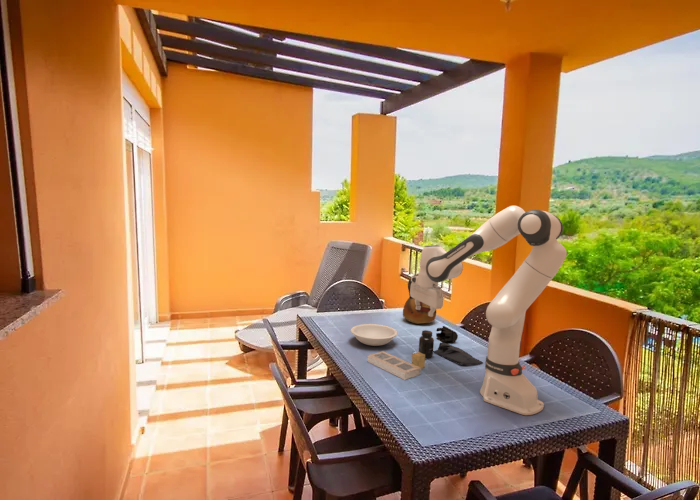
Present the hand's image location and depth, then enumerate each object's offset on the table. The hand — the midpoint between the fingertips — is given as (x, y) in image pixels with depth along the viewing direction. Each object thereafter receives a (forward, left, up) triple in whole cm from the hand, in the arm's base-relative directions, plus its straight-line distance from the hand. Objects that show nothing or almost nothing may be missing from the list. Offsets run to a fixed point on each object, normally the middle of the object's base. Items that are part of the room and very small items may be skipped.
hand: (424, 312), depth 178 cm
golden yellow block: (0, +1, -25) cm, 25 cm away
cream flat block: (+6, +11, -25) cm, 28 cm away
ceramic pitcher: (+48, -53, -25) cm, 76 cm away
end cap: (+16, -39, -25) cm, 49 cm away
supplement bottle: (+7, -12, -25) cm, 28 cm away
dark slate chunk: (-2, -24, -25) cm, 35 cm away
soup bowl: (+34, -3, -25) cm, 42 cm away
